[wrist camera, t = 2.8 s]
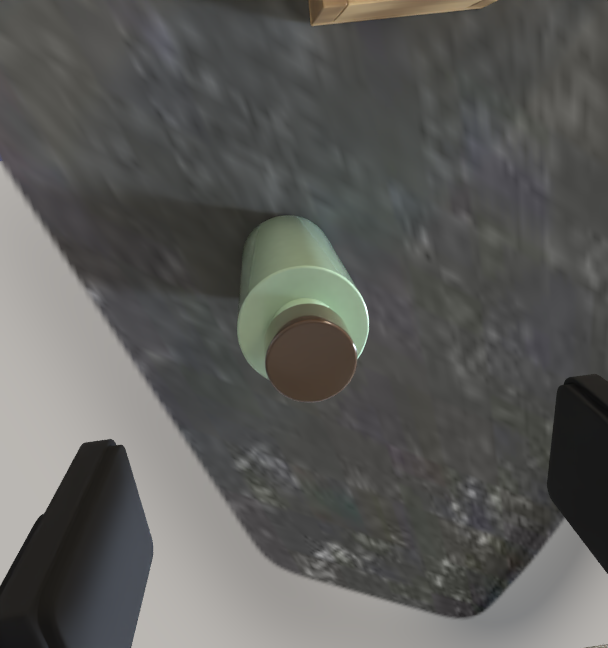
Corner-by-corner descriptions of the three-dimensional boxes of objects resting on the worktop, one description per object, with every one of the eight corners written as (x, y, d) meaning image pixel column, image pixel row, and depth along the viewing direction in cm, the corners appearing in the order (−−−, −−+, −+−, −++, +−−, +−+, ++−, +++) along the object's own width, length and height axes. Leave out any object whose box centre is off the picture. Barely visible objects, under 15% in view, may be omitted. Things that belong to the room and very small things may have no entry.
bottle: (249, 308, 26) (246, 437, 16) (235, 221, 25) (222, 301, 14) (335, 296, 27) (390, 417, 16) (328, 209, 25) (384, 280, 14)
